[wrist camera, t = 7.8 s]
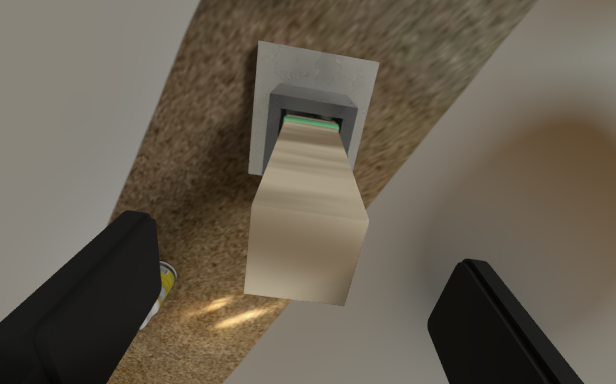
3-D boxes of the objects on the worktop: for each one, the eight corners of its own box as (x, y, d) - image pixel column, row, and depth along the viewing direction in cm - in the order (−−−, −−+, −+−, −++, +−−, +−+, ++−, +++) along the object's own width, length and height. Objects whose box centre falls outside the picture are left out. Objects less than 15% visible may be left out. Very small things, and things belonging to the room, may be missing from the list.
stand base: (261, 41, 30) (240, 36, 21) (375, 62, 30) (402, 65, 21) (251, 167, 36) (231, 206, 27) (346, 182, 36) (357, 224, 27)
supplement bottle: (154, 286, 44) (121, 334, 37) (139, 263, 42) (102, 308, 35) (183, 281, 44) (156, 329, 36) (169, 257, 42) (138, 302, 34)
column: (286, 111, 24) (249, 201, 10) (336, 120, 24) (372, 219, 10) (280, 159, 26) (241, 294, 11) (326, 166, 26) (346, 308, 12)
